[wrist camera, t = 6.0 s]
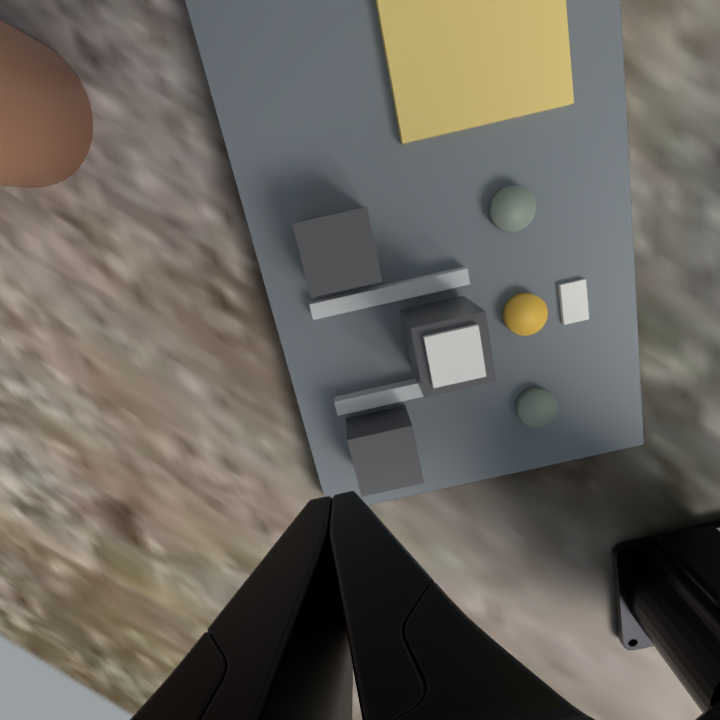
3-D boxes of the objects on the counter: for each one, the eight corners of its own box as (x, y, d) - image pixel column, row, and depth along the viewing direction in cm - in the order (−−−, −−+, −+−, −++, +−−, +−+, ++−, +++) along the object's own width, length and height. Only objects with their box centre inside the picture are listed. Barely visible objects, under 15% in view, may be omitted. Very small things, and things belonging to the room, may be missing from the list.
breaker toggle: (472, 356, 20) (497, 383, 17) (411, 370, 20) (425, 400, 17) (463, 295, 19) (487, 312, 16) (399, 309, 19) (411, 329, 16)
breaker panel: (628, 432, 23) (673, 467, 19) (329, 498, 23) (328, 543, 20) (595, -95, 17) (653, -164, 14) (191, 3, 17) (160, -42, 14)
